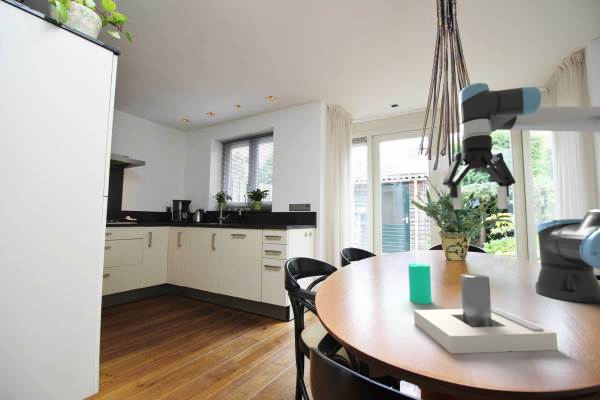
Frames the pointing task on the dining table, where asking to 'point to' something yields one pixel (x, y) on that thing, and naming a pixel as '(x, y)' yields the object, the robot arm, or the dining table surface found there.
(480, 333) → the jig
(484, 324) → the tall grey prism
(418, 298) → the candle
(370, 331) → the dining table surface
